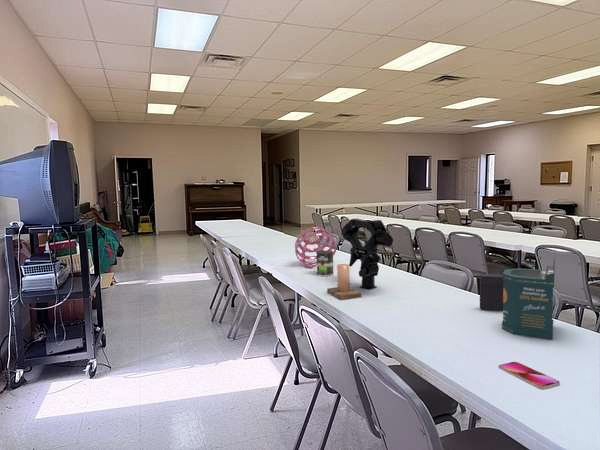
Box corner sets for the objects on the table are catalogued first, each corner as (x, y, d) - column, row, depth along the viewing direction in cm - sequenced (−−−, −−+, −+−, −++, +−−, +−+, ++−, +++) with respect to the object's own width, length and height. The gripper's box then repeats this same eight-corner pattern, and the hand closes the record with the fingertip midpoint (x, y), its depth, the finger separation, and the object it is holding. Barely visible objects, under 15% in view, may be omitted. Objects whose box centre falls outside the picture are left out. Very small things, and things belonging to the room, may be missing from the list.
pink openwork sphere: (336, 241, 257) (327, 214, 277) (293, 253, 258) (287, 225, 279) (343, 270, 275) (335, 243, 296) (303, 281, 276) (297, 253, 297)
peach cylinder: (340, 288, 210) (339, 263, 209) (351, 289, 208) (350, 264, 206) (336, 291, 205) (335, 266, 203) (347, 292, 202) (347, 266, 201)
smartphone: (515, 361, 125) (562, 382, 111) (515, 364, 125) (562, 385, 111) (496, 365, 122) (541, 387, 108) (496, 368, 123) (541, 391, 108)
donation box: (552, 340, 141) (554, 259, 138) (500, 332, 149) (501, 256, 147) (553, 325, 154) (555, 251, 152) (505, 319, 163) (506, 249, 160)
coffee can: (330, 276, 247) (330, 253, 245) (314, 275, 250) (313, 253, 249) (335, 273, 256) (335, 250, 255) (320, 272, 260) (319, 250, 258)
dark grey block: (507, 309, 175) (508, 274, 173) (509, 312, 171) (509, 277, 169) (479, 307, 179) (479, 273, 177) (480, 310, 175) (480, 275, 173)
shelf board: (327, 292, 212) (327, 288, 212) (346, 289, 216) (346, 286, 215) (340, 300, 197) (340, 296, 197) (361, 297, 201) (361, 293, 201)
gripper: (393, 255, 204) (376, 280, 200) (370, 251, 220) (353, 274, 216) (381, 241, 199) (363, 267, 195) (358, 237, 216) (341, 261, 212)
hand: (355, 267), depth 205 cm, fingers open, 9 cm apart
